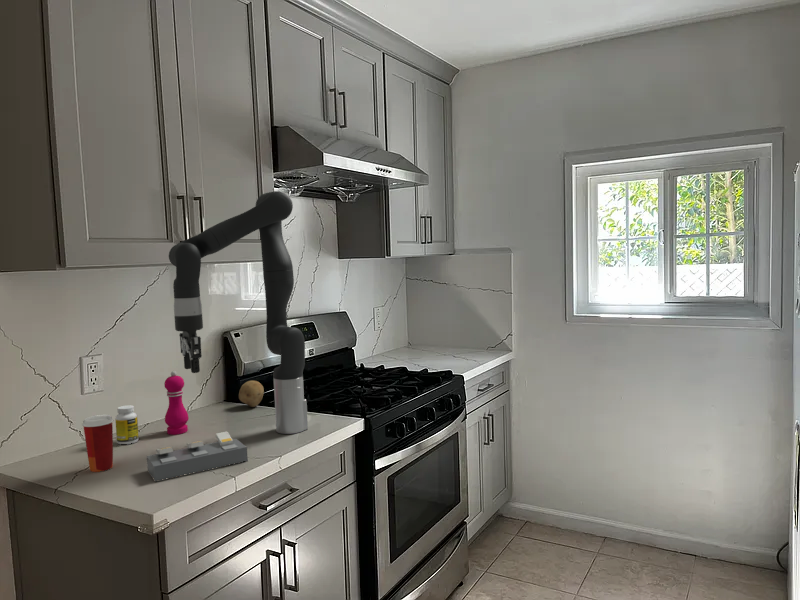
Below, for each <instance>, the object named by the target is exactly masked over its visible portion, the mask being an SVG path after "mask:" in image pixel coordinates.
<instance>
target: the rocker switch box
mask: <svg viewBox="0 0 800 600" xmlns="http://www.w3.org/2000/svg"><path fill="white" fill-rule="evenodd" d="M232 439H233V444H231V445H226V446H221V445H220V443H219V442H218V441H215V442H211V443H205V444H204V443H203V444H204V446H199V447H194V448H187V447H185V448H181V449H173V452H169V453H164V454H156V453H155V454H150V455H146V464H147V465H146V466H147V467H146V468H147V472H148V471H149V472H148V474H149V475H150V474H151V475H150V476H151V478H152V477H153V478H154V479H153V478H152V479H153V480H155V481H157V480H161V481H163V480H162V479H166V478H170V479H173V478H172V477H175V478H177V477H176V476H179V477H181V476H180V475H184V474H188V475H190V474H189V473H193V472H197V473H199V472H198V471H202V472H204V471H203V470H206V471H209V470H208V469H211V470H213V469H212V468H215V469H217V468H216V467H220V468H222V467H221V466H224V467H226V466H225V465H229V464H233V465H235V464H234V463H238V464H240V463H239V462H242V463H244V462H243V461H247V462H249V461H248V458H249V457H248V446H246V445H245V444H243V442H241V441H240V440H239V439H237V438H232ZM229 466H230V465H229ZM193 474H194V473H193ZM184 476H185V475H184ZM166 480H167V479H166ZM155 481H154V482H155ZM157 482H158V481H157Z"/></svg>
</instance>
